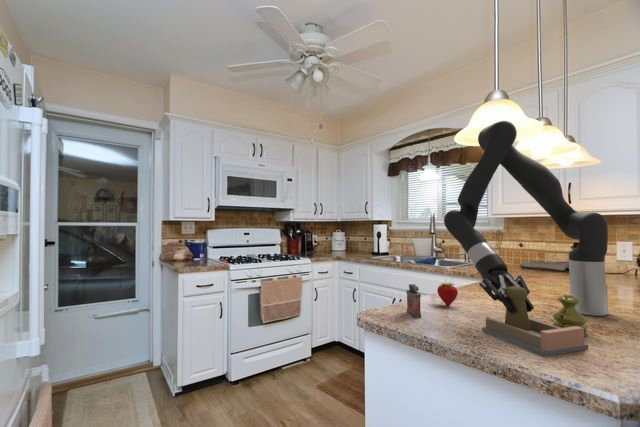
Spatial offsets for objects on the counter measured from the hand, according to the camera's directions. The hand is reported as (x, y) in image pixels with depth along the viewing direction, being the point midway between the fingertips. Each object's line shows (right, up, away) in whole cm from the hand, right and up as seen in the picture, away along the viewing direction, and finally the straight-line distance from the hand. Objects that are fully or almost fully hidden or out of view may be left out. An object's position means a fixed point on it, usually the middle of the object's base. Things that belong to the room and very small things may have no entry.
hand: (522, 311), depth 84 cm
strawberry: (-7, -8, +32) cm, 34 cm away
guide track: (+1, -7, -2) cm, 7 cm away
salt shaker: (+15, -7, +3) cm, 16 cm away
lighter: (-23, -8, +21) cm, 32 cm away
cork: (0, -5, +2) cm, 6 cm away
